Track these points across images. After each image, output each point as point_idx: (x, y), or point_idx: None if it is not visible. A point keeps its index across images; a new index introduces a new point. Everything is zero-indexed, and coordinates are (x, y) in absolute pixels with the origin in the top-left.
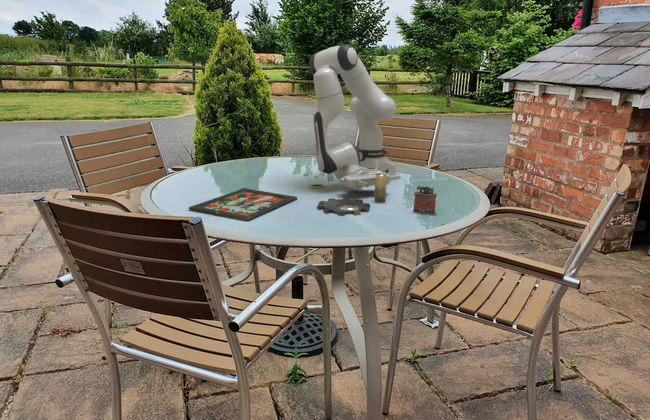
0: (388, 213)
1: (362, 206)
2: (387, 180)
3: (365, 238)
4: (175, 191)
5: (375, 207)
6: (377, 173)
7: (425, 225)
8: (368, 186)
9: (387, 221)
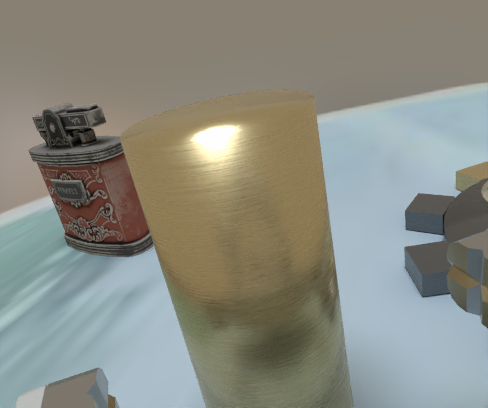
0: None
1: (461, 217)
2: (19, 402)
3: (406, 102)
4: None
5: (361, 278)
6: (263, 124)
7: None
8: (449, 286)
9: (324, 163)
